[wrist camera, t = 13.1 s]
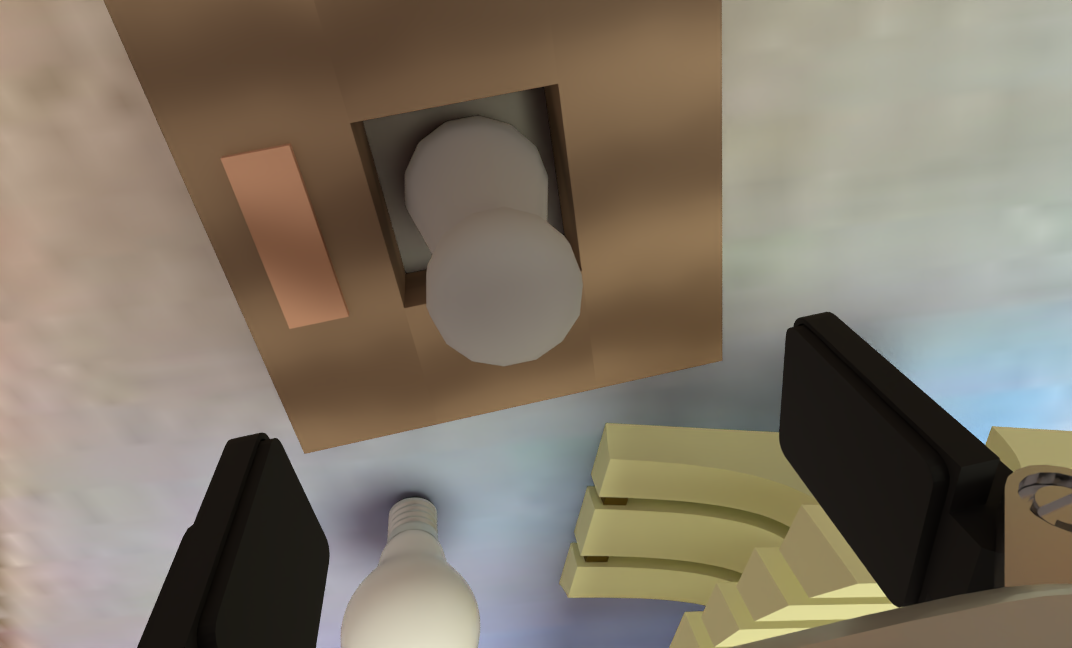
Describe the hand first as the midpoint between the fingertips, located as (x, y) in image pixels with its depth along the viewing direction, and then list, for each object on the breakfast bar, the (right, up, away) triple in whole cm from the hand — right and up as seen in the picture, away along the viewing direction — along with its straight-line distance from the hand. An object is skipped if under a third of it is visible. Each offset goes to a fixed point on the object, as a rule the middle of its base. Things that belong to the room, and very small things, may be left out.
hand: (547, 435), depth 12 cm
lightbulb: (-7, -8, +25) cm, 27 cm away
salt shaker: (-3, +9, +16) cm, 19 cm away
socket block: (-3, +8, +16) cm, 18 cm away
